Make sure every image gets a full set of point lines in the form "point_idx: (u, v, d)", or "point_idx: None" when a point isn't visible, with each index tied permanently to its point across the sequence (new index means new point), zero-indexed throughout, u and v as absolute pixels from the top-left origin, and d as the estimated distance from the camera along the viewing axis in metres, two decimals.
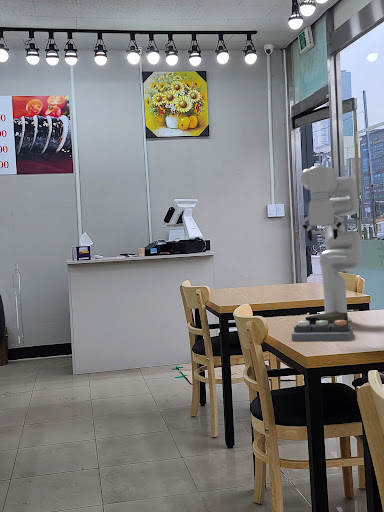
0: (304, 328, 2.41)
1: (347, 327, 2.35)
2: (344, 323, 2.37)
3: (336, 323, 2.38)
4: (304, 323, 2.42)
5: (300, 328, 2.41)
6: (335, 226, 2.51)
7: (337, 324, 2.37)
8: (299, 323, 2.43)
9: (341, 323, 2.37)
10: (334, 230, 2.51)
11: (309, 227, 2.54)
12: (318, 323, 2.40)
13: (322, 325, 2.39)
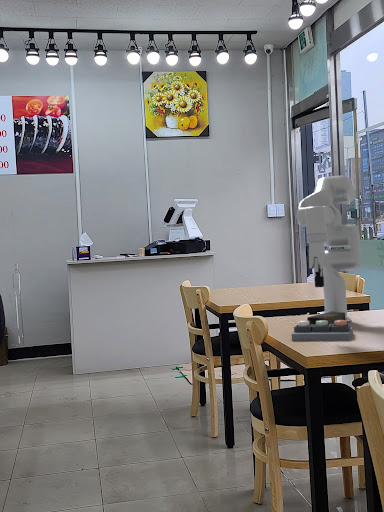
0: (304, 328, 2.41)
1: (347, 327, 2.35)
2: (344, 323, 2.37)
3: (336, 323, 2.38)
4: (304, 323, 2.42)
5: (300, 328, 2.41)
6: (322, 273, 2.41)
7: (337, 324, 2.37)
8: (299, 323, 2.43)
9: (341, 323, 2.37)
10: (323, 277, 2.41)
11: (322, 272, 2.40)
12: (318, 323, 2.40)
13: (322, 325, 2.39)
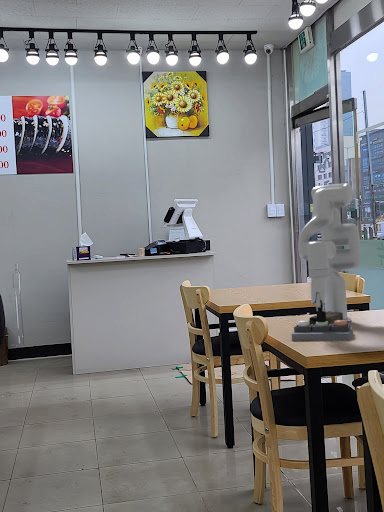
0: (304, 328, 2.41)
1: (347, 327, 2.35)
2: (344, 323, 2.37)
3: (336, 323, 2.38)
4: (304, 323, 2.42)
5: (300, 328, 2.41)
6: (324, 308, 2.41)
7: (337, 324, 2.37)
8: (299, 323, 2.43)
9: (341, 323, 2.37)
10: (325, 312, 2.41)
11: (324, 307, 2.40)
12: (318, 324, 2.40)
13: (322, 326, 2.39)
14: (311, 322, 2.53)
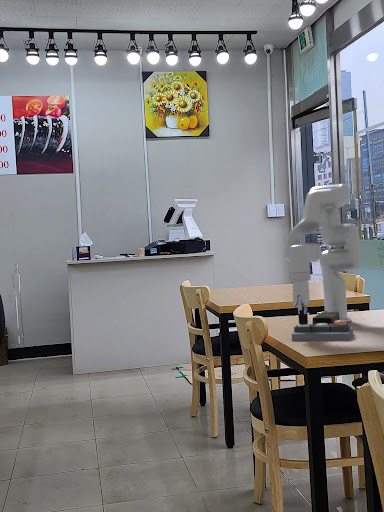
0: (304, 328, 2.41)
1: (347, 327, 2.35)
2: (344, 323, 2.37)
3: (336, 323, 2.38)
4: (304, 326, 2.42)
5: (300, 328, 2.41)
6: (306, 310, 2.44)
7: (337, 324, 2.37)
8: (299, 326, 2.43)
9: (341, 323, 2.37)
10: None
11: (305, 310, 2.42)
12: (318, 326, 2.40)
13: None
14: (314, 322, 2.52)
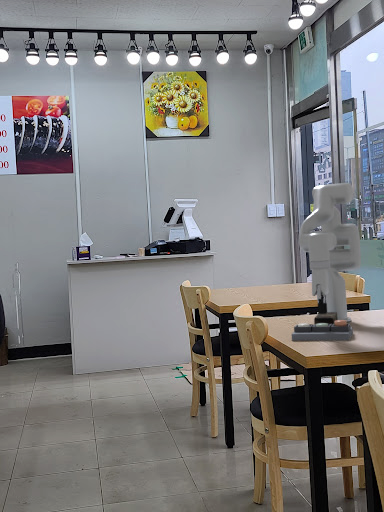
0: (304, 328, 2.41)
1: (347, 327, 2.35)
2: (344, 323, 2.37)
3: (336, 323, 2.38)
4: (304, 326, 2.42)
5: (300, 328, 2.41)
6: (325, 299, 2.41)
7: (337, 324, 2.37)
8: (299, 326, 2.43)
9: (341, 323, 2.37)
10: (326, 304, 2.41)
11: (325, 299, 2.40)
12: (318, 326, 2.40)
13: None
14: (316, 322, 2.51)
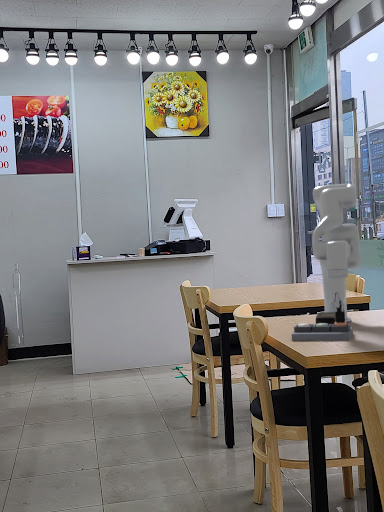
0: (304, 328, 2.41)
1: (347, 327, 2.35)
2: (344, 324, 2.37)
3: (336, 324, 2.38)
4: (304, 326, 2.42)
5: (300, 328, 2.41)
6: (343, 308, 2.39)
7: (337, 325, 2.37)
8: (299, 326, 2.43)
9: (341, 324, 2.37)
10: (344, 312, 2.38)
11: (343, 308, 2.37)
12: (318, 326, 2.40)
13: None
14: (318, 322, 2.51)
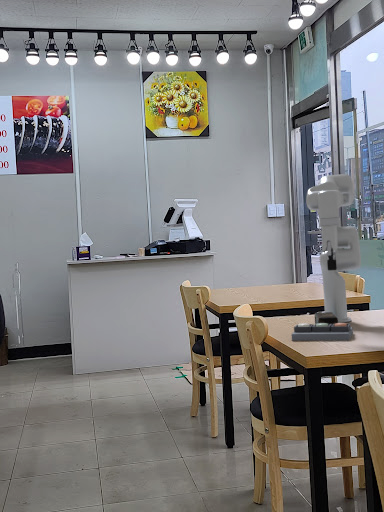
0: (304, 328, 2.41)
1: (347, 327, 2.35)
2: None
3: None
4: (304, 326, 2.42)
5: (300, 328, 2.41)
6: (335, 256, 2.45)
7: None
8: (299, 326, 2.43)
9: None
10: (336, 260, 2.44)
11: (334, 256, 2.43)
12: (318, 326, 2.40)
13: None
14: (321, 322, 2.50)
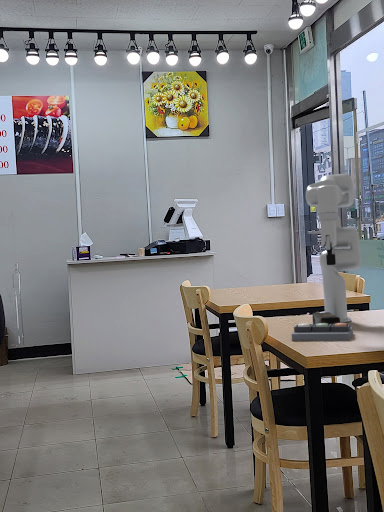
0: (304, 328, 2.41)
1: (347, 327, 2.35)
2: None
3: None
4: (304, 326, 2.42)
5: (300, 328, 2.41)
6: (334, 251, 2.45)
7: None
8: (299, 326, 2.43)
9: None
10: (335, 255, 2.45)
11: (333, 250, 2.44)
12: (318, 326, 2.40)
13: None
14: (323, 322, 2.50)
